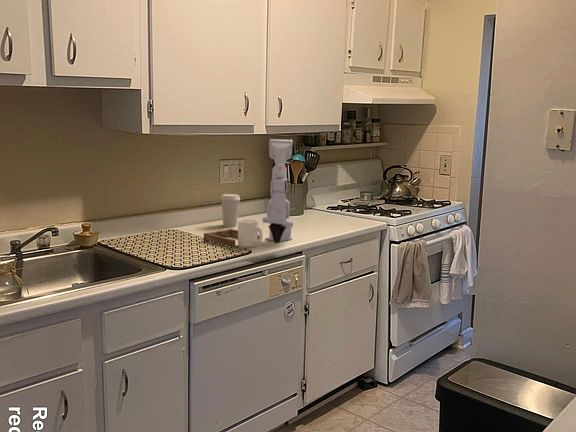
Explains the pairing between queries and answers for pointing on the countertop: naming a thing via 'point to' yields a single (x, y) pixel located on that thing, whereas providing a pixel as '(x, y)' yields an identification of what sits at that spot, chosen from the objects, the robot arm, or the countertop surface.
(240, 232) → the mug
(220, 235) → the box
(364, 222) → the countertop surface
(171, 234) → the countertop surface
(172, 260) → the countertop surface
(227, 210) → the coffee cup
